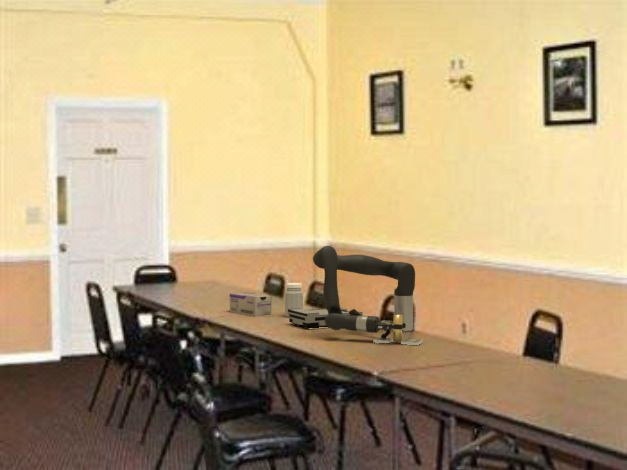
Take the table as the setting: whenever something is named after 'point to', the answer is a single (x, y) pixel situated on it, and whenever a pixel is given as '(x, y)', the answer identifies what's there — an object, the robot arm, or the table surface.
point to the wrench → (356, 313)
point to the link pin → (396, 332)
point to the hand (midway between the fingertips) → (403, 326)
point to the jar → (293, 297)
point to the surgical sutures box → (250, 304)
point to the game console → (311, 317)
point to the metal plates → (406, 341)
